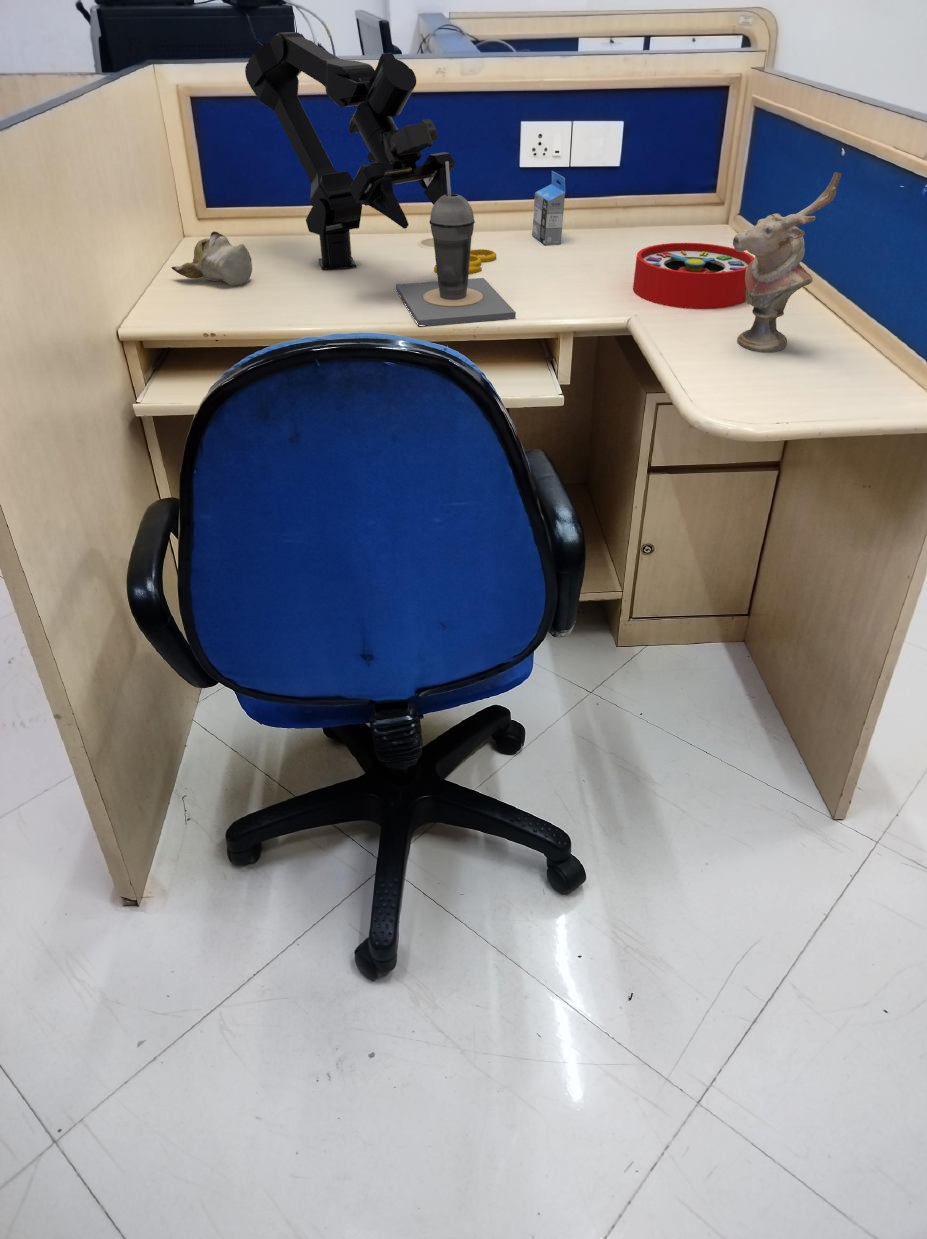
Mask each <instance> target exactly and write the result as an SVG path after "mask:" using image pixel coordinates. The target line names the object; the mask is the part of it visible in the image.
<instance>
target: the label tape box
mask: <svg viewBox="0 0 927 1239" xmlns="http://www.w3.org/2000/svg"><path fill="white" fill-rule="evenodd" d="M557 181H558V182H560V184H559V183H557ZM565 198H566V178H565V177H564V176H562V175H561V174H559V173H557V172H555V171H553V170H551V183H550V184H549V185H547V186H545V187H543V188H542V189H539V190H537V191H536V192H535V193H534V200H533V201H534V203H533V214H532V215H533V218H532V228H531V230H532V231H531V235H532V236H533V237H534V238H535V239H537V240H539V242H540V243H542V244H543V245H549V246H557V245H561V244H562V235H563V233H562V232H563V223H564V222H563V221H564V213H565V212H564V211H565V210H564V209H565Z"/></svg>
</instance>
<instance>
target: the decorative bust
mask: <svg viewBox="0 0 927 1239" xmlns="http://www.w3.org/2000/svg"><path fill="white" fill-rule="evenodd" d="M842 174H843V173H841V172H837V171H835V172H834V173H833V176H832V178H831V180H830V182H829V184H828V185H827V187H826V188H825V189H824V191H823V192H822V193H821V194H820V195H819V197H817V198H816V200H814V202H812V203H811V204H809V205H808V206H807V207H805V208H804V209H802V210H800V211H799V212H797V213H792V214H788V215H787V216H782V215H781V214H780V213H773V214H769V215H767V216H766V217H765V218H760V219H759V220H757V222H756V225H754V226H751V227H749V228H748V229H745V230H742V231H739V232H738V233H736V234H735V235H734V237H733V239H732V246H733V247H734V249H735V250H736V251H737V252H742V251H744V252H746V251H747V253H748V254H750V255H752V256H755V257H754V261H752V262H751V263H750V264H749V265H748V267H747V269H746V277H745V281H746V282H745V283H746V301H745V302H746V303H747V304H749V305H750V306H752V307H753V309H752V312H751V313H752V314H753V315H754V316H755V317H754V321H753V324H752V326H751V328H749V329H747V330H745V331H743V332H742V333H740V334H738V336H737V338H736V339H737V340H736V342H737V344H738V345H739V346H741V347H743V348H744V349H748V350H751V351H753V352H760V353H772V352H773V353H774V352H778V351H779V352H780V351H783V350H784V349H786V347H787V346H788V339H787V337H786V335H785V334H783V332H781V331H779V330H778V328H777V319H778V318H779V317H780V318H781V317H782V316H784V315H785V312H784V311H785V309H786V306H787V303H788V301H789V299H790V298H791V296H792V295H794V294H795V293H796V292H797V291H799V290H800V289H802V288H804V287H806V286H809V285H810V284H812V282H813V277H812V275H811V273H809V272H807V270H806V269H805V268H804V267H803V266H802V265H801V262H802V260H803V258H804V256H805V252H806V248H805V239H804V236H805V234H806V233H805V230H803V229H800V228H799V227H800V226H804V225H805V224H809V223H812V222H815V220H816V218H817V217H816V216H815V215H813V213H815V212H817V211H819V210H820V209H822V208H824V207H826V206H827V205H828V204H830V203H831V202H832V201H834V199H835V197H836V195H837V187H838V185H839V182H840V180H841V178H842Z"/></svg>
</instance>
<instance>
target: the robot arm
mask: <svg viewBox="0 0 927 1239" xmlns="http://www.w3.org/2000/svg"><path fill="white" fill-rule="evenodd" d="M244 70H245V71H244V74H245V80H246V81H247V84H248V85H249V87H250V89H251V90H252V91H253V93H254V95H255V96H256V98H257V99H258V100H259V102H261V103H262V104H263V105H265V106H267V107H268V108H269V109H270V110H272V111H273V112H274V113H275V114H274V115H276V117H277V119H278V121H279V124H280V125H281V127H282V129H283V131H284V134H285V135H286V137H287V138H288V140H289V143H290V144H291V147H292V149H293V151H294V152H295V155H296V156H297V159H298V160H299V162H300V164H301V166H302V169H303V170H304V172H305V174H306V176H307V178H308V181H309V182H310V197H309V198H310V199H309V200H310V203H311V205H312V206H311V208H310V211H309V213H308V214H307V217H306V218H305V222H306V226H307V229H308V232H309V233H313V234H315V235H319V245H320V253H321V254H320V256H321V257H319V258H318V263H319V266H320V267H321V270H331V269H332V270H335V269H337V270H338V269H349V268H351V269H352V268H357V263H356V262H355V260H354V258H353V256H352V246H351V245H352V244H351V243H352V242H351V235H350V234H351V232H350V230H354V229H360V225H361V218H362V211H363V205H364V206H366V207H367V206H369V207H371V208H372V209H374V210H376V211H377V212H379V213H381V214H382V215H383V216H386V217H387V218H388V219H390V220H391V221H393V222H394V223H395V224H397V225H398V226H400V227H401V228H402V229H405V230H406V229H407V228H408V227H409V221H408V219H407V217H406V214H405V212H404V211H403V209H402V206H401V205H400V203H399V201H398V199H397V197H396V195H395V193H394V190H393V185H398V184H403V183H404V184H405V183H410V182H416V181H418V182H419V185H420V187H422V188H423V189H425V190H424V191H423V194H424V196H426V198H427V199H428V200H429V201H430V202H431V204H432V205H433V206H434V204H435V203H436V201H437V200H438V199H439V198H440V197H442V196H443V195H446V194H448V191H447V177H446V164H445V162H446V161H449V174H450V175H451V173H452V171H453V169H455V167H456V163H455V161H454V158H453V157H452V155H451V153H450V152H446V151H444V152H439V153H438V152H437V153H430V154H428V157H427V158H426V160H425V161H424V163H423V164H422V165H417V162H418V161H420V159H421V158H422V157H423V154H422V151H423V150H425V149H426V148H428V147H429V148H431V147H432V146H433V145H434V142H435V141H437V140H438V135H439V134H438V131H437V127H436V125H435V124H434V122H433V121H432V119H431V118H427V119H422V120H421V122H418V123H415V124H408V125H406V126H404V127H402V128H401V129H399V128H398V127H397V125H396V123H395V121H394V120H393V119H394V117H397V116H400V115H401V113H402V111H403V109H404V107H405V106H406V103H408V102H407V101H408V100H409V99H410V96H411V95H412V93H413V91H414V89H415V87H416V85H417V77H416V74H415V71H414V70H413V69H412V68H410V67H409V66H408V65H407V64H406V63H405V62H403V61H402V60H400V59H398V58H396V57H395V55H394V52H388V53H381V55H380V56H379V59H378V62H377V66H376V68H374V67H373V66H372V65H371V64H369V63H366V62H361V61H359V60H358V61H357V60H351V59H343V58H340V57H337V56H336V55H334V54H332V53H331V52H329V51H328V50H326V49H324V48H322V47H320V46H319V45H318V44H316V43H315V42H312V41H311V40H309V39H307V38H305V36H304V34H302V33H300V32H297V31H291V32H289V31H288V32H278V33H277V34H274V36H272V38H271V39H270V41H269V42H268V43H266V44H265V45H264V46H262V47H261V48H259V49H257V50H256V51H254V52H253V54H252V55H251V56H249V59H248V62H247V63H246V65H245V67H244ZM301 73H304V74H305V75H307V76H309V77H310V78H312V79H313V80H315V81H317V82H318V83H319V84H321V85H322V86H323V87H324V88H325V93H326V95H327V97H329V98H330V99H331V101H333V102H334V104H336V105H337V106H338V107H339V108H340V107H341V108H346V107H355V106H356V107H357V108H356V109H355V112H354V113H351V114H350V115H349V116H350V120H349V123H348V133H349V134H358V133H359V135H360V136H361V138H362V139H363V141H364V144H365V145H366V146H367V149H368V151H369V153H368V155H367V156H366V158H367V159H368V162H369V164H363V165H360V167H359V168H358V170H357V172H356V175H355V176H354V178H352V175H351V174H350V173H349V171H347V170H346V171H340V172H339V171H338V170H336V169H335V168H334V165H333V163H332V161H331V160H330V158H329V155H328V153H327V151H326V150H325V148H324V145H323V144H322V142H321V140H320V138H319V136H318V134H317V132H316V131H315V128H314V126H313V124H312V122H311V121H310V118H309V116H308V115H307V112H306V110H305V108H304V107H303V104H302V102H301V100H300V98H299V96H298V95H299V84H300V83H299V82H300V80H299V78H298V76H299V75H300V74H301Z"/></svg>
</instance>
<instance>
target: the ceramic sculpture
mask: <svg viewBox="0 0 927 1239" xmlns="http://www.w3.org/2000/svg"><path fill="white" fill-rule="evenodd" d="M171 269H172V270H173V271H174V272H175V273H177V274H179V275H180V276H183V277H185V278H188V279H199V278H204V279H205V280H208V281H212V282H225V283H226V284H228V285H229V286H233V287H234V286H236V287H237V286H242V285H244V284H245V283H246V282H248V280H250V278H251V276H252V273H253V262H252V257H251V254H250V252H249V250H248V248H247V247H246V246H245V245H244V243H240V244H238V245H236V246H235V245H234V246H233V245H232V244H231V242H230V241H229V238H228V237H227V236H226V235H224V234H222V233H220V232H218V231H211V233H210V236H209V237H206V238H203V239H200V240H198V241H197V243H196V244H195V246H194V250H193V259H192V261H191V262H186V263H183V264H182V265H179V266H177V265H176V266H171Z"/></svg>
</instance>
